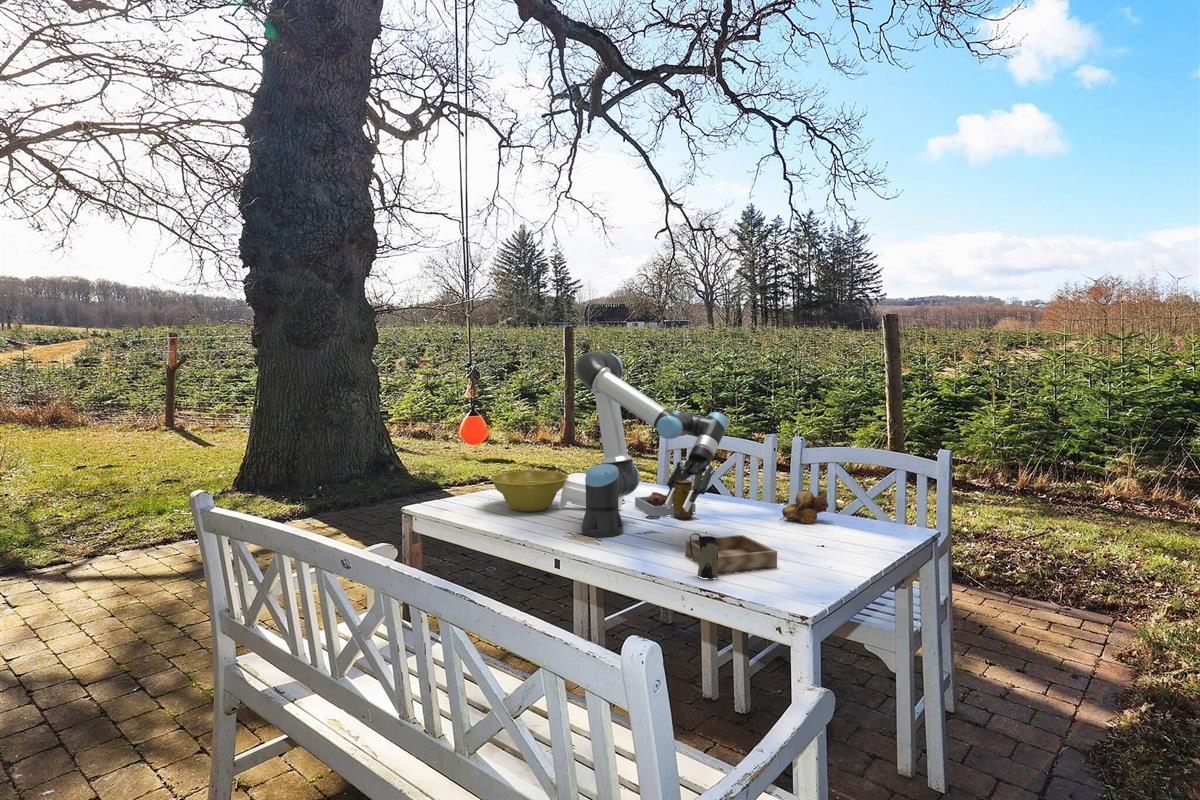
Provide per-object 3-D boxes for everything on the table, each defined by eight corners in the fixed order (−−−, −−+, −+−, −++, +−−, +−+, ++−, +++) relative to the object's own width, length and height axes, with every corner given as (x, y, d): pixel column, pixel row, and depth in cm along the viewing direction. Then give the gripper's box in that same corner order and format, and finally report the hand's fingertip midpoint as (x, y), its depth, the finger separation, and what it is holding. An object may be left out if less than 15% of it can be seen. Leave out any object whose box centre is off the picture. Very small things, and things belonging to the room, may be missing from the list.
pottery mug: (640, 509, 279) (647, 491, 282) (660, 518, 281) (667, 500, 283) (649, 508, 268) (656, 489, 270) (670, 517, 269) (677, 498, 272)
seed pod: (830, 510, 243) (829, 490, 256) (785, 499, 246) (786, 480, 259) (820, 540, 248) (820, 519, 261) (776, 529, 251) (778, 508, 265)
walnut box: (715, 575, 191) (715, 557, 191) (685, 556, 210) (685, 540, 210) (777, 568, 197) (777, 551, 197) (742, 550, 216) (742, 534, 216)
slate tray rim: (653, 517, 263) (653, 507, 263) (635, 506, 282) (635, 497, 282) (695, 513, 268) (695, 503, 268) (674, 503, 287) (674, 494, 287)
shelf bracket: (560, 507, 282) (566, 478, 281) (618, 521, 279) (624, 491, 278) (557, 510, 276) (563, 480, 275) (617, 524, 273) (623, 494, 272)
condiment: (686, 514, 224) (686, 478, 223) (701, 519, 216) (701, 483, 216) (667, 516, 221) (667, 480, 220) (682, 522, 213) (682, 484, 212)
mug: (720, 575, 191) (720, 533, 190) (715, 581, 186) (715, 538, 185) (693, 572, 194) (693, 530, 194) (687, 577, 189) (687, 535, 188)
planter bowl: (538, 520, 258) (537, 486, 257) (474, 511, 275) (473, 479, 274) (583, 505, 286) (583, 473, 285) (523, 497, 302) (522, 468, 302)
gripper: (732, 461, 224) (706, 519, 212) (683, 455, 236) (656, 510, 224) (724, 447, 219) (697, 505, 208) (675, 442, 231) (647, 496, 220)
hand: (676, 507), depth 216 cm, fingers closed on condiment, 6 cm apart
